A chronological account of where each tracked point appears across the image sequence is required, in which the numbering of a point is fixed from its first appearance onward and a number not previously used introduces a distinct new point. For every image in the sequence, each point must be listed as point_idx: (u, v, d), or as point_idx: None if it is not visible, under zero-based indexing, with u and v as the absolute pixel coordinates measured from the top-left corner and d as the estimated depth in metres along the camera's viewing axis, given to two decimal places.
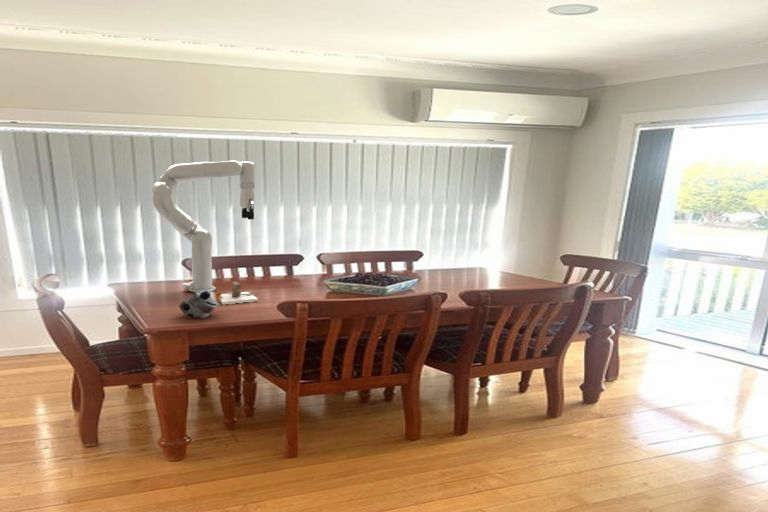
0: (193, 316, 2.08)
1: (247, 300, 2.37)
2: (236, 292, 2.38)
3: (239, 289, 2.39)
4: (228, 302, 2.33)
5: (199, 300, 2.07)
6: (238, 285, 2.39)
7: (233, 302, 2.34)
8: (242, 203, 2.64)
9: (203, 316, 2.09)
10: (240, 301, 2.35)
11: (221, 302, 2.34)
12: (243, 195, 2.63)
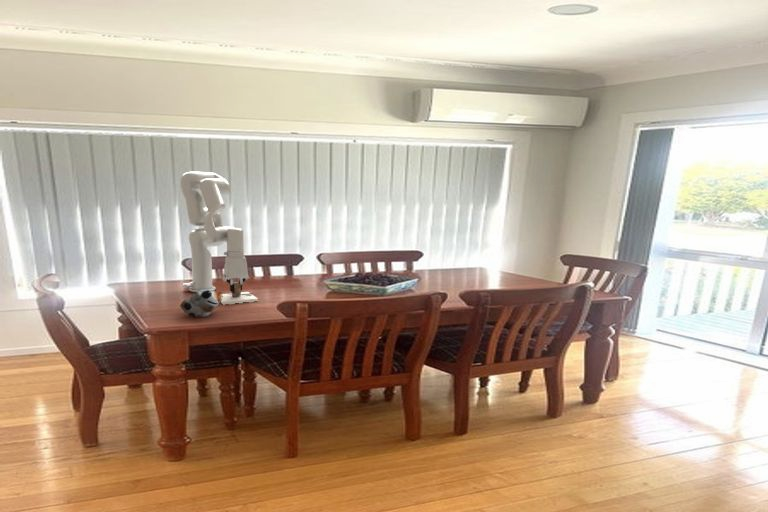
0: (194, 315, 2.09)
1: (247, 300, 2.37)
2: (236, 292, 2.38)
3: (239, 289, 2.39)
4: (228, 302, 2.33)
5: (200, 299, 2.09)
6: (238, 285, 2.39)
7: (233, 302, 2.34)
8: (238, 274, 2.38)
9: (204, 315, 2.11)
10: (240, 301, 2.35)
11: (221, 302, 2.34)
12: (241, 265, 2.39)
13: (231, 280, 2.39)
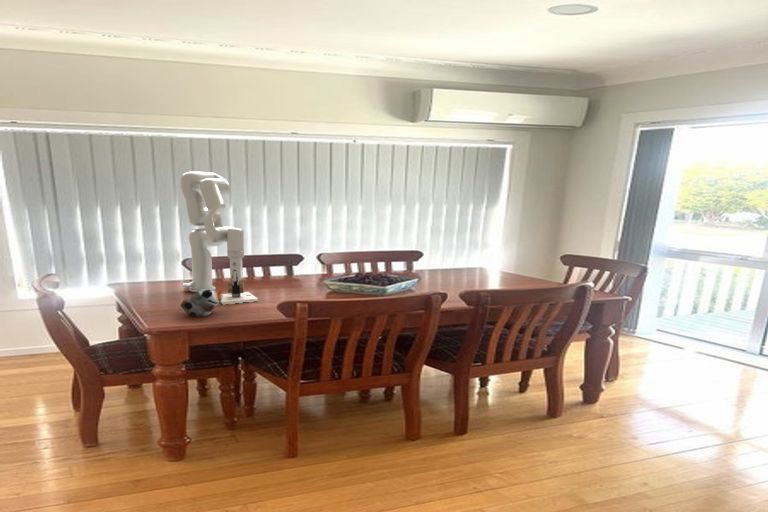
0: (195, 315, 2.10)
1: (247, 300, 2.37)
2: (243, 291, 2.42)
3: (243, 287, 2.43)
4: (228, 302, 2.33)
5: (201, 298, 2.10)
6: (243, 284, 2.42)
7: (233, 302, 2.34)
8: (242, 273, 2.42)
9: (205, 314, 2.12)
10: (240, 301, 2.35)
11: (221, 302, 2.34)
12: None
13: (238, 280, 2.39)
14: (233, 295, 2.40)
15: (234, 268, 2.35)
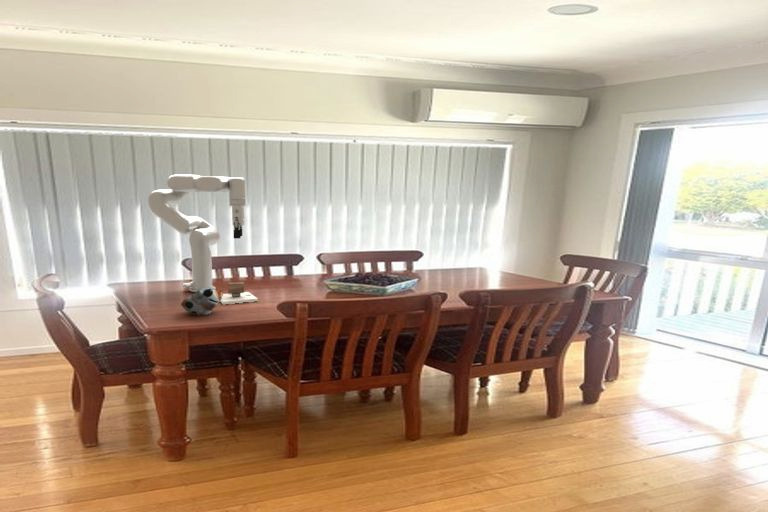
0: (196, 314, 2.12)
1: (247, 300, 2.37)
2: (243, 290, 2.42)
3: None
4: (228, 302, 2.33)
5: (202, 298, 2.11)
6: None
7: (233, 302, 2.34)
8: None
9: (206, 313, 2.14)
10: (240, 301, 2.35)
11: (221, 302, 2.34)
12: None
13: (239, 225, 2.47)
14: (234, 295, 2.40)
15: (236, 215, 2.46)
